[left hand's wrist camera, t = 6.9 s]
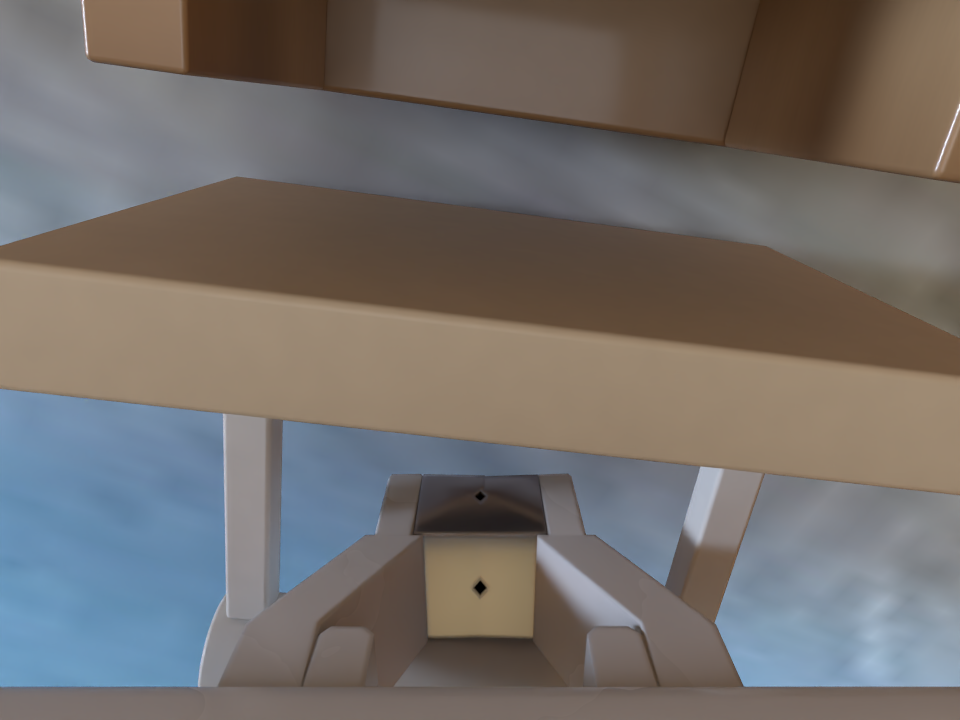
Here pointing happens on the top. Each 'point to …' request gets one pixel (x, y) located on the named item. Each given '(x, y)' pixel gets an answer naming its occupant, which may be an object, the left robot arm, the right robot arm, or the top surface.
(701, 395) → the drawer
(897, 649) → the top surface
